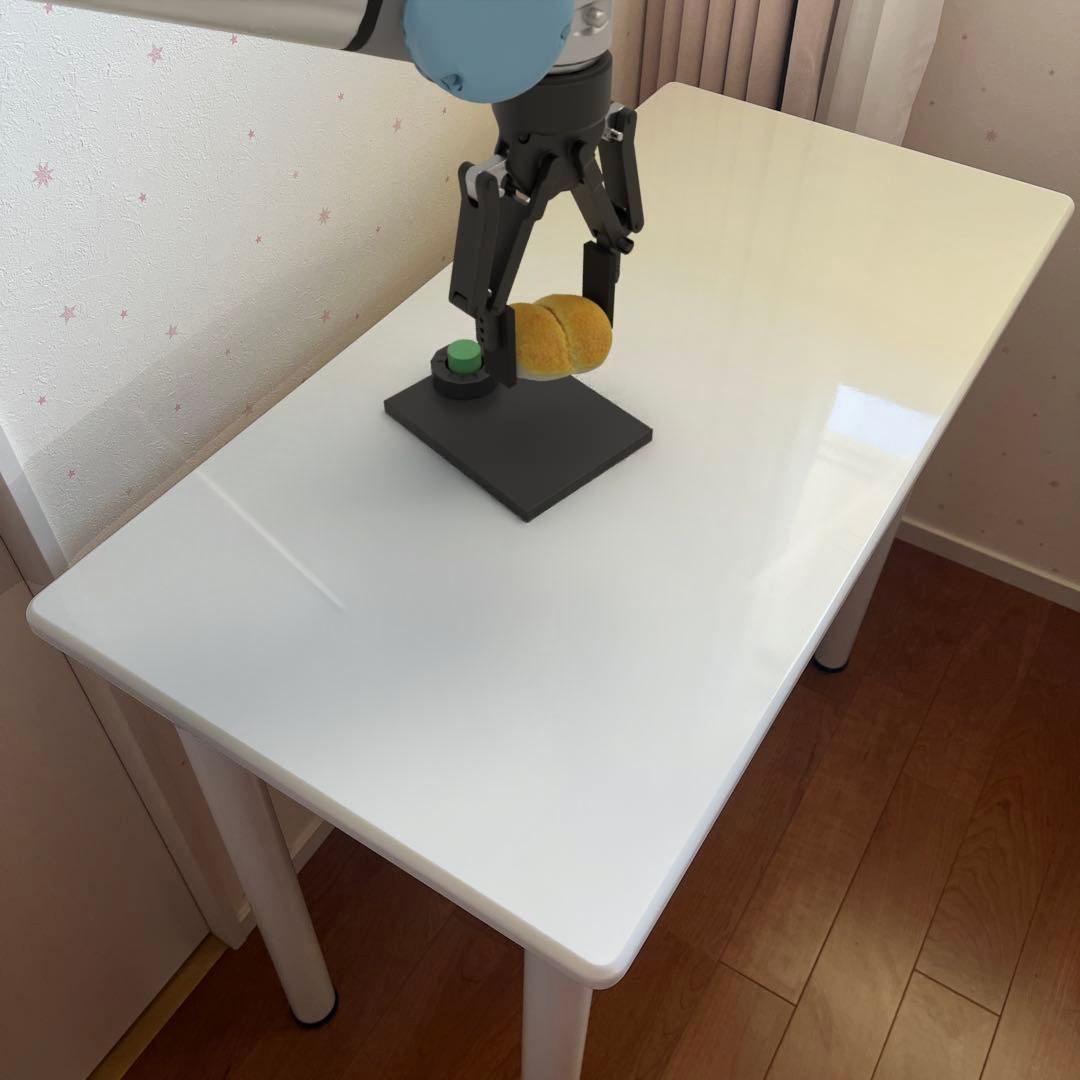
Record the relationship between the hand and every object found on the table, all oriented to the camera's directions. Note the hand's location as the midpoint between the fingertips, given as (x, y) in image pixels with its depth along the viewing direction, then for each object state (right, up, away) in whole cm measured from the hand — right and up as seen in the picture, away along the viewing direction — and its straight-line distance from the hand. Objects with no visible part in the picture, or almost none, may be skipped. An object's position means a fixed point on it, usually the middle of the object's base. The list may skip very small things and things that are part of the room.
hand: (550, 349), depth 83 cm
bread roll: (0, 0, 0) cm, 0 cm away
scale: (-3, -5, +9) cm, 11 cm away
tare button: (-7, +1, +11) cm, 13 cm away
